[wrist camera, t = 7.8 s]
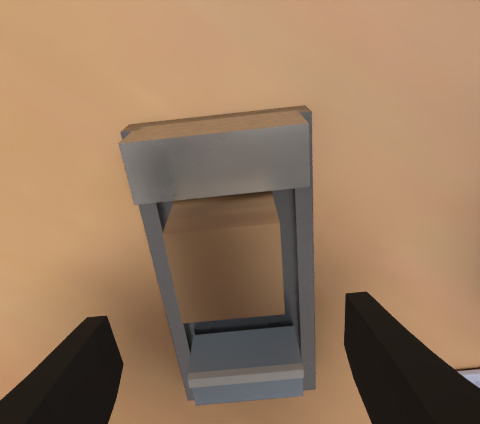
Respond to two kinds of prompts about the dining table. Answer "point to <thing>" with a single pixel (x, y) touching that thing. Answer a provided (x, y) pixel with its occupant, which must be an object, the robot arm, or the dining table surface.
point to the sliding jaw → (245, 366)
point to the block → (225, 257)
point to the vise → (230, 183)
